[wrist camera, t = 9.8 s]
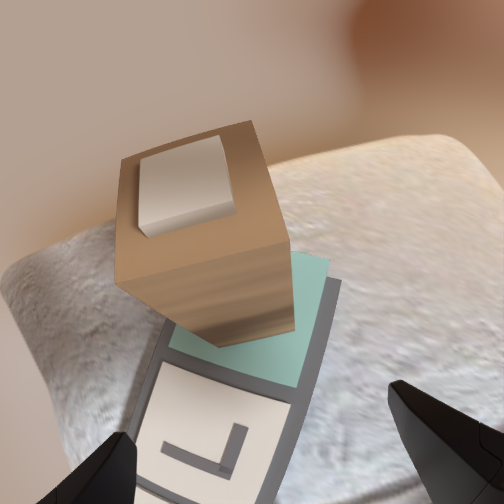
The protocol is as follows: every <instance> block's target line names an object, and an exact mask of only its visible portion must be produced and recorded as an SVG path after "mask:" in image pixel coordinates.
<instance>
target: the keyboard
mask: <svg viewBox="0 0 504 504" xmlns="http://www.w3.org/2000/svg"><path fill="white" fill-rule="evenodd" d="M290 252H291V266H292V281H293V298H294V317H295V331H293V332H289V333H285V334H281V335H277V336H272V337H268V338H264V339H259V340H255V341H250V342H246V343H241V344H236V345H232V346H227V347H222V348H218V347H216V346H214V345H212V344H211V343H209V342H207V341H205V340H204V339H202V338H200V337H198V336H197V335H195V334H193V333H192V332H190V331H188V330H186V329H185V328H183V327H181V326H180V325H178V324H176V323H175V322H173V321H171V320H170V319H168V318H166V321H165V323H164V326H163V329H162V331H161V334H160V337H159V340H158V342H157V345H156V348H155V351H154V354H153V356H152V359H151V362H150V365H149V368H148V371H147V373H146V376H145V379H144V382H143V385H142V388H141V391H140V394H139V397H138V400H137V403H136V406H135V409H134V413H133V416H132V419H131V422H130V425H129V428H128V432H127V434H128V436H129V437H130V438H131V439H132V441H133V442H134V443H135V444H136V446H137V481H136V492H135V499H134V504H273V502H274V499H275V497H276V495H277V492H278V490H279V487H280V485H281V482H282V480H283V477H284V475H285V472H286V470H287V467H288V464H289V462H290V459H291V456H292V454H293V451H294V448H295V445H296V442H297V440H298V437H299V434H300V431H301V428H302V425H303V422H304V419H305V416H306V413H307V410H308V407H309V404H310V400H311V397H312V394H313V391H314V387H315V384H316V381H317V377H318V374H319V370H320V367H321V363H322V359H323V356H324V352H325V348H326V345H327V341H328V337H329V333H330V329H331V325H332V321H333V317H334V312H335V308H336V304H337V299H338V295H339V290H340V286H341V281H342V280H339V279H335V278H330V277H326V275H327V271H328V266H329V262H330V259H325V258H321V257H316V256H312V255H307V254H303V253H298V252H294V251H290Z"/></svg>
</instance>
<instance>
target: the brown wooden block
mask: <svg viewBox="0 0 504 504" xmlns="http://www.w3.org/2000/svg"><path fill="white" fill-rule="evenodd" d="M117 202H118V203H117V215H116V234H115V284H116V285H117V286H119V287H120V288H122V289H123V290H125V291H126V292H128V293H129V294H131V295H132V296H134V297H135V298H137V299H138V300H140V301H141V302H143V303H144V304H146V305H147V306H149V307H151V308H152V309H154V310H155V311H157V312H158V313H160V314H162V315H163V316H165V317H167V318H168V319H170V320H171V321H173V322H175V323H176V324H178V325H180V326H181V327H183V328H185V329H186V330H188V331H190V332H192V333H193V334H195V335H197V336H198V337H200V338H202V339H204V340H205V341H207V342H209V343H211V344H212V345H214V346H216V347H218V348H222V347H227V346H232V345H236V344H241V343H246V342H250V341H255V340H259V339H264V338H268V337H272V336H277V335H281V334H285V333H289V332H293V331H295V317H294V298H293V281H292V266H291V252H290V240H289V236H288V233H287V230H286V226H285V223H284V220H283V216H282V213H281V210H280V207H279V203H278V200H277V197H276V194H275V191H274V188H273V184H272V181H271V178H270V175H269V172H268V169H267V166H266V163H265V160H264V157H263V154H262V151H261V147H260V144H259V141H258V138H257V135H256V133H255V130H254V127H253V124H252V121H251V120H250V121H246V122H241V123H237V124H233V125H229V126H226V127H222V128H218V129H215V130H211V131H207V132H203V133H201V134H197V135H193V136H190V137H187V138H183V139H180V140H177V141H174V142H171V143H168V144H164V145H161V146H159V147H156V148H153V149H150V150H147V151H144V152H141V153H139V154H136V155H133V156H130V157H128V158H125V159H122V161H121V169H120V178H119V189H118V200H117Z"/></svg>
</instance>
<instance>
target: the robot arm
mask: <svg viewBox="0 0 504 504" xmlns="http://www.w3.org/2000/svg"><path fill="white" fill-rule="evenodd" d="M388 404H389V407H390V410H391V413H392V415H393V418H394V421H395V423H396V426H397V429H398V432H399V435H400V437H401V440H402V442H403V444H404V446H405V448H406V450H407V452H408V454H409V456H410V458H411V460H412V462H413V464H414V466H415V468H416V470H417V472H418V474H419V476H420V478H421V480H422V482H423V484H424V486H425V488H426V490H427V492H428V494H429V496H430V498H431V500H432V502H433V504H504V433H502V432H499V431H497V430H495V429H493V428H491V427H489V426H487V425H485V424H483V423H479V421H477V420H475V419H473V418H471V417H469V416H467V415H465V414H464V413H462V412H460V411H458V410H456V409H454V408H452V407H450V406H449V405H447V404H445V403H443V402H441V401H439V400H437V399H436V398H434V397H432V396H430V395H428V394H427V393H425V392H423V391H421V390H419V389H417V388H416V387H414V386H412V385H410V384H409V383H407V382H405V381H403V380H397V381H394V382H391V383H390V384H389V386H388ZM136 481H137V446H136V444H135V443H134V442H133V441H132V439H131V438H130V437H129V436H128V434H127V433H125V432H114V433H113V434H112V435H111V436H110V437H109V438H108V439H107V440H106V441H105V442H104V443H103V444H102V445H100V446H99V447H98V448H97V449H96V450H95V451H94V452H93V453H92V454H91V455H90V456H89V457H88V458H87V459H86V460H85V461H84V462H82V463H81V464H80V465H79V466H78V467H77V468H76V469H75V470H74V471H73V472H72V473H71V474H70V475H68V476H67V477H66V478H65V479H64V480H63V481H62V482H61V483H60V484H59V485H57V487H55V488H54V489H53V490H52V491H51V492H50V493H48V494H47V495H46V496H45V497H44V498H43V499H41V500H40V501H39V502H38V503H36V504H134V499H135V492H136Z"/></svg>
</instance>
